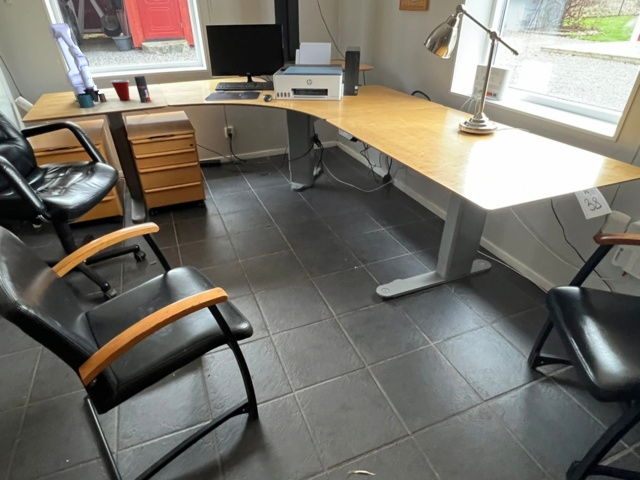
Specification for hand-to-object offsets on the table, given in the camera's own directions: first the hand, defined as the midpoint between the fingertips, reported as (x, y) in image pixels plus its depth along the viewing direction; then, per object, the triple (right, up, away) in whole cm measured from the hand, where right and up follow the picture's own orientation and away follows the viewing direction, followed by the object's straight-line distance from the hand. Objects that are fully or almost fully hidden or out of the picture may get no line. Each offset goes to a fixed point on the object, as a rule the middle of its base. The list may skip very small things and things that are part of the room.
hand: (94, 101), depth 240 cm
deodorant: (+30, +1, +5) cm, 30 cm away
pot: (-3, -4, -2) cm, 6 cm away
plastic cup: (+13, +5, +11) cm, 18 cm away
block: (+1, +3, +8) cm, 8 cm away
